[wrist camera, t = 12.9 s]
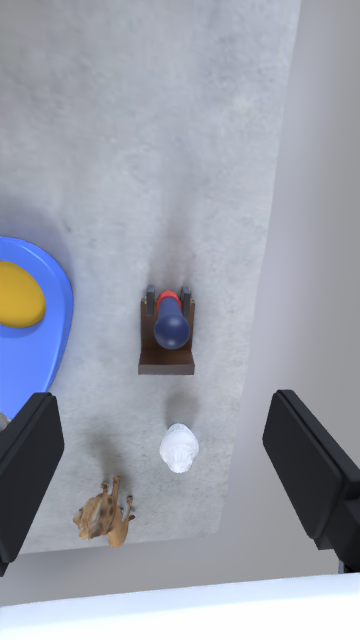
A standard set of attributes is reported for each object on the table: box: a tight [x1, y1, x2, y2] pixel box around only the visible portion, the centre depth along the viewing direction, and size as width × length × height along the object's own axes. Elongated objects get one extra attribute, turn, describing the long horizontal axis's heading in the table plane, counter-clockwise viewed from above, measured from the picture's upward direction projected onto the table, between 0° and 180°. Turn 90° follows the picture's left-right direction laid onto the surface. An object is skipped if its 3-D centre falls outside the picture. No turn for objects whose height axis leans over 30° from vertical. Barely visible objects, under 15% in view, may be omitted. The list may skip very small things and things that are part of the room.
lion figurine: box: [73, 477, 135, 548], centre depth 38 cm, size 15×5×9 cm, turn 24°
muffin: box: [160, 423, 199, 473], centre depth 35 cm, size 6×6×7 cm
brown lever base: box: [138, 286, 195, 375], centre depth 29 cm, size 10×7×5 cm
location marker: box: [0, 237, 73, 420], centre depth 29 cm, size 13×3×25 cm
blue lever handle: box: [154, 290, 190, 349], centre depth 22 cm, size 14×3×3 cm
